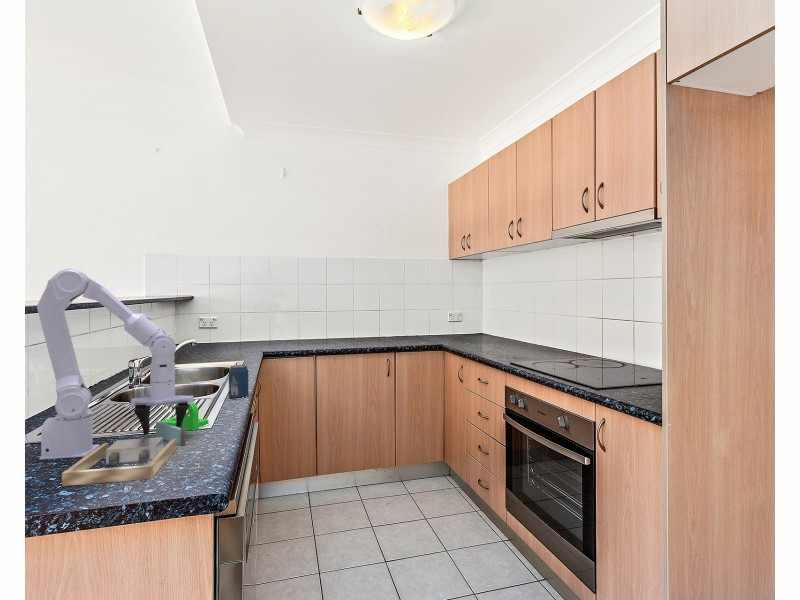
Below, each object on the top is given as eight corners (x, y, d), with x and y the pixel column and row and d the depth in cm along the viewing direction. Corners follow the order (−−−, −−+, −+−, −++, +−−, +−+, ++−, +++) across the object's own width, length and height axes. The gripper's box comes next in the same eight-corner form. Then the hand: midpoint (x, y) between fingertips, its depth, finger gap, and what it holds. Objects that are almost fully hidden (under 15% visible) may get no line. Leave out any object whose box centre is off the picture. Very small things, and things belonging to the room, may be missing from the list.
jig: (61, 486, 87) (62, 463, 87) (108, 450, 108) (108, 431, 108) (159, 478, 91) (159, 456, 91) (185, 445, 112) (186, 427, 112)
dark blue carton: (247, 395, 171) (247, 364, 171) (249, 399, 164) (249, 366, 164) (227, 397, 168) (227, 365, 168) (229, 401, 162) (229, 368, 162)
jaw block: (105, 465, 99) (105, 449, 99) (117, 455, 106) (117, 440, 106) (155, 461, 102) (155, 445, 102) (163, 451, 109) (163, 437, 109)
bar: (179, 445, 112) (179, 429, 112) (156, 437, 119) (156, 422, 119) (183, 444, 112) (183, 428, 113) (159, 436, 120) (159, 421, 120)
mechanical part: (208, 426, 130) (208, 399, 130) (193, 432, 124) (193, 403, 124) (175, 423, 133) (175, 396, 133) (158, 428, 127) (158, 400, 127)
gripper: (126, 384, 111) (126, 439, 111) (188, 382, 114) (188, 435, 114) (136, 379, 118) (136, 431, 118) (195, 377, 121) (195, 427, 121)
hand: (162, 432), depth 117 cm, fingers open, 7 cm apart
